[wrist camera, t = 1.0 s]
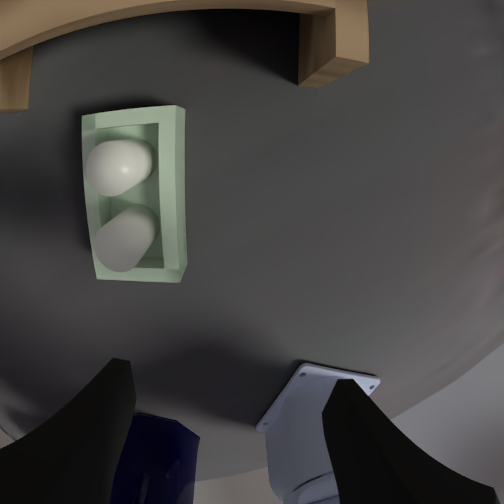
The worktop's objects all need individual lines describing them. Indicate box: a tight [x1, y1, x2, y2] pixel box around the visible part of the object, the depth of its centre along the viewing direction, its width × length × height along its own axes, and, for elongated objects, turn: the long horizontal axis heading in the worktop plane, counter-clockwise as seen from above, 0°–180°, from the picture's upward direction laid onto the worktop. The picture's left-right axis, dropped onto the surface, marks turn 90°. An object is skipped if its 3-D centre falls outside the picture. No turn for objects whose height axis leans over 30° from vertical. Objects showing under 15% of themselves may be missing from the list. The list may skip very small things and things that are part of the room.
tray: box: [82, 105, 187, 283], centre depth 14 cm, size 9×5×4 cm, turn 178°
